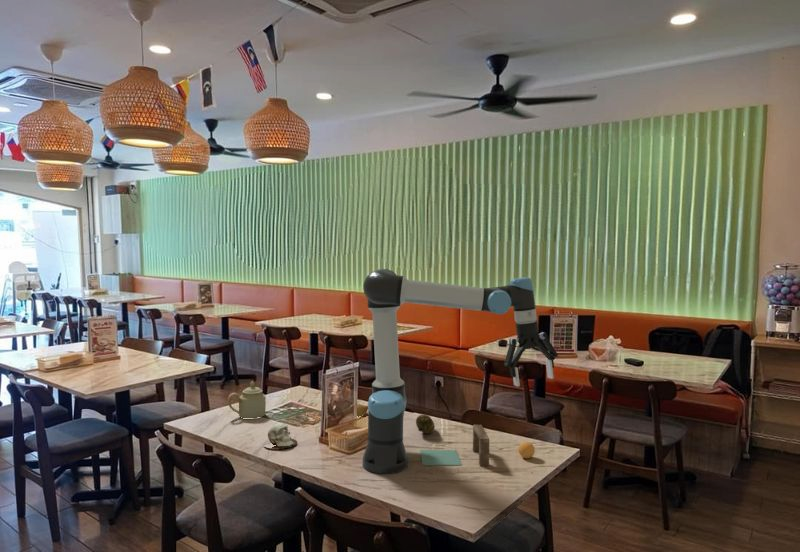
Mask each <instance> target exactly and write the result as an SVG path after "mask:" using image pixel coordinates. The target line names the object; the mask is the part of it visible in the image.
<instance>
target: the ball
mask: <svg viewBox="0 0 800 552" xmlns="http://www.w3.org/2000/svg"><path fill="white" fill-rule="evenodd" d="M535 450H536V449H535V446H534V445H533V444H532V443H531V442H529V441H522V442H521V443H519V445H518V453H519V456H521V457H522V458H524V459H530V458H532V457H533V456H534V455H535V452H536V451H535Z"/></svg>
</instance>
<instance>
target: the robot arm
mask: <svg viewBox="0 0 800 552" xmlns="http://www.w3.org/2000/svg"><path fill="white" fill-rule="evenodd" d="M362 287H363V288H362V289H363V293H364V295H365V297H366V299H367V309H368V310H370V312H371V314H372V326H373V327H372V331H373V345H374V346H373V348H374V363H375V364H374V367H375V380H373V382H372V383H371V389H372V390H371V391H372V394H371V395H369V398H368V402H367V406H368V410H367V414H368V415H367V421H368V422H367V425H368V426H367V443H366V447H365V449H364V452H363V455H362V467H363V469H365V470H367V471H369V472H372V473H374V474H375V473H376V474H395V473H399V472H400V473H401V472H402V471H404V470H406V469H407V467H408V466H409V457H408V454H407V450H406V448H405V445H404V416H405V410H406V406H407V404H408V402H407V395H406V388H405V386H406V385H405V381H404V380H403V379H402V378H401V372H400V357H399V356H400V355H399V353H400V352H399V335H398V317H397V316H398V315H397V311H398V310H399V308H400V307H401V306H403V305H404V304H405V303H408V304H416V305H426V306H434V307H435V306H436V307H444V308H450V309H451V308H452V309H459V310H460V309H462V310H471V311H481V312H487V313H493V314H496V315H503V314H505V313H507V312H508V311H509V310H510V308H511V307H513V315H514V322H516V324H515V330H516V335H517V337H516V338H512V337H509V339H508V341H509V343H508V344H509V345H508V349H507V352H506V356H505V360H504V362H503V366H504V367H507V368H509V372H510V377H512V380H513V386H515V387H521V383H520V377H519V376H520V375H519V369H518V367H517V364H518V363H519V361H520V358H521V357H522V355H523V354H524V352H525V351H526V350H530V349H534V348H535V349H537V350H538V351H539V352H541V354H543V356H544V357H545V360H544V361H545V367H546V376H547V379H551V380H552V379H554V369H555V363H554V362H555V361H554V360H555V359H556V358H558V356H559V355H558V352H557V351H556V349H555V348H554V346H553V344H552V342H551V341H550V340H549V337H548V333H547V332H545V331H544V332H543V331H541V332H540V331H539V323H538V322H537V320H538V318H537V317H538V316H537V310H536V309H537V308H536V301H535V291H534V290H535V289H534V286H533V281H532V278H531V277H528V276H527V277H525V276H524V277H517V278H511V279H510V280H509V284H508V285H503V286H493V287H492V286H491V287H485V288H484V287H476V286H469V285H467V286H466V285H459V284H450V283H449V284H448V283H441V282H432V281H422V280H413V279H408V278H407V277H406V276H405V275H397V274H396V273H395V272H394V271H392V270H390V269H388V268H381V269H379V268H378V269H375V270H374V271H371V272H369V274H368V275H366V277H365V279H364V281H363V286H362ZM539 332H540V333H539ZM539 340H541V341H542V343H543V344H544V346H543V345H542V343H541V342H539Z"/></svg>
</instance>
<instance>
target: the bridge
mask: <svg viewBox="0 0 800 552" xmlns="http://www.w3.org/2000/svg"><path fill="white" fill-rule="evenodd" d="M472 451H473V453H478V464H479V467H489V466H490V437H489V435H488V433H487V432H486V430H485V429H484V427H483V425H482V424H473V425H472Z"/></svg>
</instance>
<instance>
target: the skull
mask: <svg viewBox="0 0 800 552" xmlns="http://www.w3.org/2000/svg"><path fill="white" fill-rule="evenodd" d="M267 437H268V440H269V443H272V444H273V445H276V446H274V447H272V448H271V449H270V450H282V449H289V448H291V447H294V446H295V445H297V444H298V441H297V440H296V439H294V438H292V436H291V431H290V430H289V429H288V426H287V425H285V424H284V423H282V422H281V423H280V422H279V423H275V424H274V425H272V426H271V427H270V428H269V430H268V432H267Z"/></svg>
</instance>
